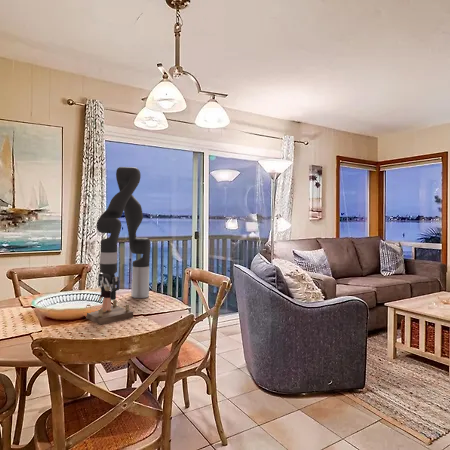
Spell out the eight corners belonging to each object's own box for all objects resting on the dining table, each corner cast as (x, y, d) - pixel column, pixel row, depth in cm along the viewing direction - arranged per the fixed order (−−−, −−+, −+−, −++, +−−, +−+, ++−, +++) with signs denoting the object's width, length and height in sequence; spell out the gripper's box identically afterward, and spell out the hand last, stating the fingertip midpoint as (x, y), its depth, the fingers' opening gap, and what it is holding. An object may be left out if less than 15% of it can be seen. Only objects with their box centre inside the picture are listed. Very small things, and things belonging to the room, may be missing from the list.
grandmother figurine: (101, 313, 157) (101, 285, 156) (97, 311, 159) (97, 283, 159) (117, 310, 162) (117, 282, 162) (113, 308, 165) (113, 281, 165)
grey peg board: (82, 316, 160) (82, 304, 160) (114, 310, 172) (115, 298, 172) (99, 324, 149) (100, 311, 149) (133, 317, 161) (133, 305, 161)
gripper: (124, 263, 158) (124, 299, 158) (108, 259, 167) (107, 294, 168) (108, 264, 152) (108, 302, 153) (93, 261, 162) (92, 296, 162)
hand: (108, 297), depth 160 cm, fingers open, 8 cm apart
